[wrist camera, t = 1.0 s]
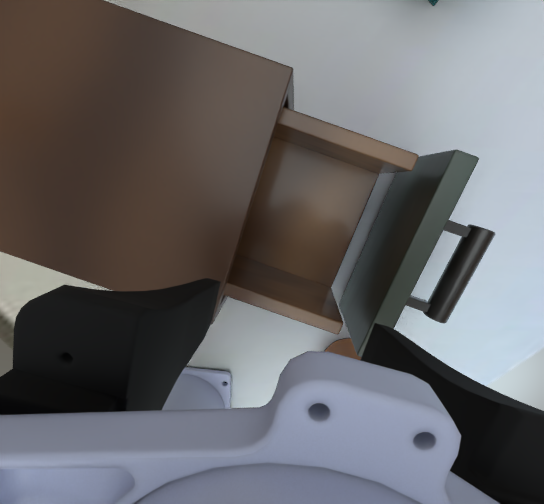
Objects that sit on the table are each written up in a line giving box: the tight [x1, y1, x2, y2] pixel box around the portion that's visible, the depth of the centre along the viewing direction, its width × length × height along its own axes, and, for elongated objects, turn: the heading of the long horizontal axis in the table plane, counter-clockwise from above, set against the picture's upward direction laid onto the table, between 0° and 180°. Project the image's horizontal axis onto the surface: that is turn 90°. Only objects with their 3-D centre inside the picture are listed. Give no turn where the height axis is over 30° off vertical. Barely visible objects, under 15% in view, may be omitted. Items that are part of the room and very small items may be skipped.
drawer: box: [223, 107, 495, 357], centre depth 18 cm, size 18×11×7 cm, turn 71°
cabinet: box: [0, 0, 294, 324], centre depth 18 cm, size 15×13×9 cm
